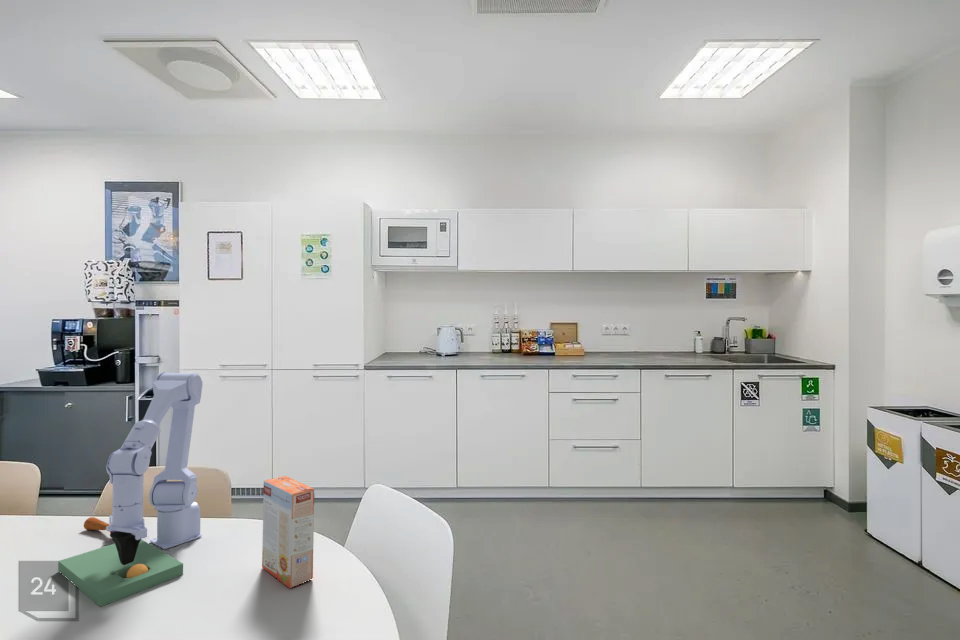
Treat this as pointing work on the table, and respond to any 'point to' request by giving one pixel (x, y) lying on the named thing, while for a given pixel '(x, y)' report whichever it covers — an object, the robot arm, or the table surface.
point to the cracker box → (288, 530)
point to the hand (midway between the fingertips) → (127, 562)
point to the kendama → (95, 524)
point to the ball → (136, 570)
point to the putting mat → (118, 572)
